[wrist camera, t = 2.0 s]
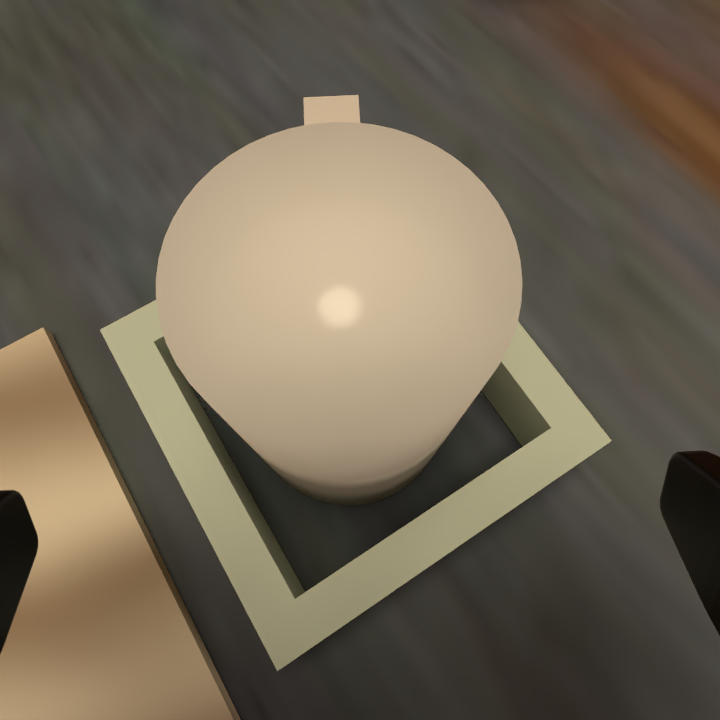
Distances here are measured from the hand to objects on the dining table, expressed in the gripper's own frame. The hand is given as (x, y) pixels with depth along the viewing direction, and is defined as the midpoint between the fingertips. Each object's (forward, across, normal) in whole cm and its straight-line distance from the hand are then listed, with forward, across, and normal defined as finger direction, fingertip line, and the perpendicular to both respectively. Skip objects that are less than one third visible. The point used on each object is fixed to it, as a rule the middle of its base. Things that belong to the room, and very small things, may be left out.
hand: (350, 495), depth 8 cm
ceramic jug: (+10, 0, +5) cm, 11 cm away
